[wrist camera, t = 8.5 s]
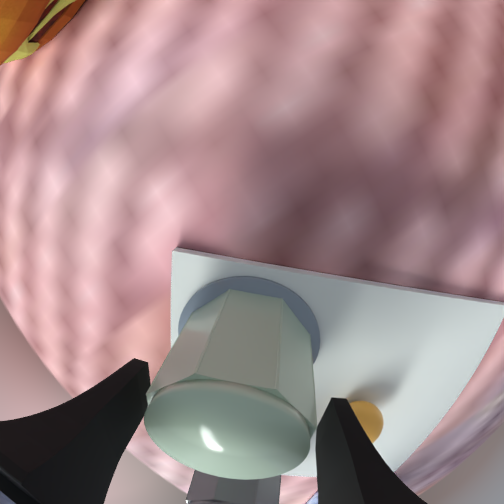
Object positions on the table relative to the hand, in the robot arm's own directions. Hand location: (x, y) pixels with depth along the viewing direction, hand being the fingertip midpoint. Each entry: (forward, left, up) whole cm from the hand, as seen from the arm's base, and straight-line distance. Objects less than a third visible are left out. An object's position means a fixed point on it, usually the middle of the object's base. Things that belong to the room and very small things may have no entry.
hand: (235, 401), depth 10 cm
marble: (-4, -7, -3) cm, 8 cm away
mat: (-5, -5, -5) cm, 9 cm away
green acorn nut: (0, 0, -4) cm, 4 cm away
